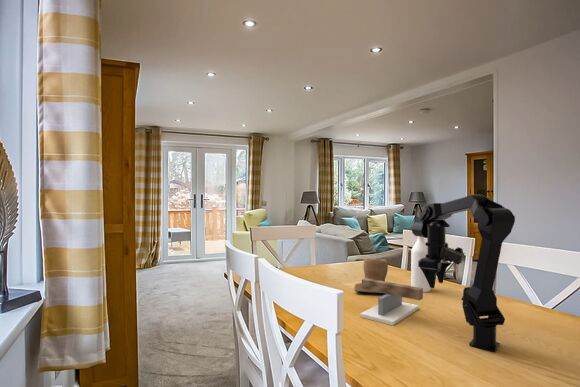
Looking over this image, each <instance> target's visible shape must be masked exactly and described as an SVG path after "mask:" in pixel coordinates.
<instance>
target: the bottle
mask: <svg viewBox="0 0 580 387" xmlns="http://www.w3.org/2000/svg"><path fill="white" fill-rule="evenodd" d="M410 254H411V255H410V264H411V265H410V276H411V277H410V286H413V287H419V288H423V293H428V292H429V293H430V292H431V288H430V286H429V283H428V281H427V279H426V277H425V275H424V273H423V272H422V270H421V269H420V267H418V261H419V260H420V259H422V258H424V257H426V254H428V250H427V246H426V241H425V238H423V237H418V236H417V239H416V242H415V243H414V245H413V246H412V248H411V252H410Z"/></svg>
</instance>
